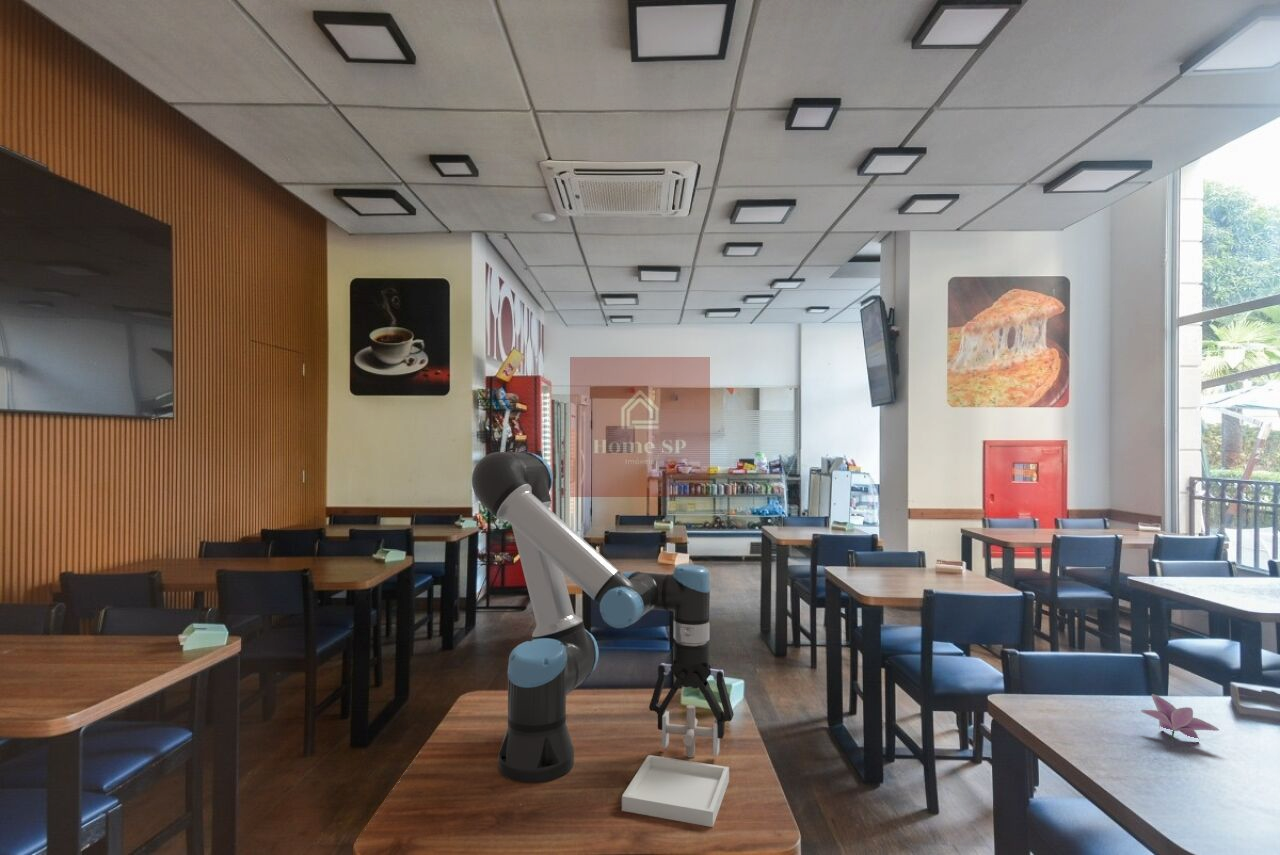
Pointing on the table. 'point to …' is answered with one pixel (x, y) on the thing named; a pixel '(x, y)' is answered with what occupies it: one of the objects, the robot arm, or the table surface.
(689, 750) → the pipe connector
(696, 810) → the tray
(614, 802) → the table surface
